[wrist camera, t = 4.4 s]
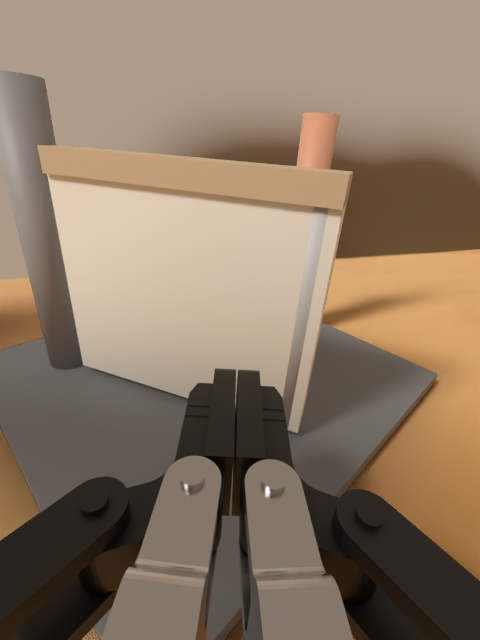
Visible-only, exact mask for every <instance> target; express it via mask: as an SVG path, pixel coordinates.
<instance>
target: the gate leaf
mask: <svg viewBox="0 0 480 640" xmlns="http://www.w3.org/2000/svg"><path fill="white" fill-rule="evenodd" d="M37 147H38V152H39V157H40V162H41V167H42V173H46V174H47V176H48V181H49V187H50V192H51V197H52V202H53V208H54V213H55V218H56V224H57V229H58V234H59V240H60V245H61V250H62V256H63V261H64V266H65V272H66V277H67V282H68V288H69V293H70V298H71V303H72V309H73V314H74V319H75V325H76V330H77V335H78V341H79V346H80V351H81V357H82V362H83V365H85V366H88V367H91V368H94V369H97V370H100V371H104V372H107V373H110V374H113V375H116V376H119V377H122V378H126V379H129V380H132V381H135V382H138V383H141V384H144V385H148V386H151V387H154V388H157V389H160V390H163V391H166V392H170V393H173V394H176V395H179V396H182V397H185V398H188V397H189V393H190V392H191V390H192V389H193V388H194V387H195V386H196V385H197V383H213V379H214V371H215V368H219V369H236V390H237V375H238V369H239V370H258V371H259V372H260V384H261V386H272V387H275V388H276V389H277V391H278V392H279V393H280V395H281V396H282V398H283V404H284V412H285V417H286V424H287V430H289V431H292V432H295V433H298V430H299V426H300V423H301V419H302V416H303V411H304V406H305V402H306V397H307V392H308V387H309V382H310V377H311V373H312V368H313V363H314V358H315V353H316V348H317V343H318V339H319V334H320V329H321V324H322V319H323V314H324V310H325V305H326V300H327V295H328V290H329V285H330V280H331V276H332V271H333V266H334V261H335V256H336V251H337V246H338V242H339V237H340V232H341V227H342V222H343V217H344V212H345V208H346V204H347V199H348V195H349V190H350V185H351V180H352V175H353V172H350V171H339V170H328V169H317V168H306V167H295V166H284V165H273V164H263V163H251V162H241V161H230V160H218V159H207V158H197V157H186V156H175V155H164V154H153V153H142V152H131V151H119V150H109V149H98V148H87V147H75V146H52V145H37ZM235 404H236V393H235Z"/></svg>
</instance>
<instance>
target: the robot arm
mask: <svg viewBox="0 0 480 640" xmlns="http://www.w3.org/2000/svg"><path fill="white" fill-rule="evenodd" d="M235 393H236V404H235ZM232 471H233V489H232V516H239V541H238V557H239V574H240V591H241V609H242V626H243V640H353V637H352V634H353V636H354V637H355V638H356V639H357V640H480V581H479V580H478V579H477V578H475V577H474V576H473V575H472V574H471V573H470V572H468V571H467V570H466V569H465V568H464V567H463V566H461V565H460V564H459V563H458V562H457V561H455V560H454V559H453V558H452V557H451V556H450V555H448V554H447V553H446V552H445V551H444V550H443V549H441V548H440V547H439V546H438V545H437V544H436V543H434V542H433V541H432V540H431V539H430V538H428V537H427V536H426V535H425V534H424V533H423V532H421V531H420V530H419V529H418V528H417V527H416V526H414V525H413V524H412V523H411V522H410V521H408V520H407V519H406V518H405V517H404V516H403V515H401V514H400V513H399V512H398V511H397V510H396V509H394V508H393V507H392V506H391V505H390V504H388V503H387V502H386V501H385V500H384V499H382V498H381V497H379V496H378V495H376V494H374V493H372V492H369V491H366V490H360V489H355V490H350V491H347V492H345V493H344V494H343V495H342V496H341V497H340V498H338V497H336V496H333V495H330V494H327V493H324V492H322V491H319V490H317V489H315V488H313V487H311V486H309V485H308V484H307V483H305V482H304V481H303V480H302V479H301V478H300V476H299V475H298V474H297V472H296V470H295V468H294V466H293V462H292V456H291V449H290V443H289V436H288V430H287V424H286V417H285V412H284V404H283V398H282V396H281V395H280V393H279V392H278V391H277V389H276V388H275V387H272V386H261V384H260V372H259V371H258V370H239V369H238V375H237V390H236V369H219V368H215V371H214V379H213V383H197V385H196V386H195V387H194V388H193V389H192V390H191V392H190V393H189V397H188V402H187V407H186V411H185V417H184V420H183V425H182V430H181V434H180V439H179V443H178V448H177V453H176V457H175V460H174V462H173V464H172V465H171V466H170V467H169V468H168V470H167V471H166V473H164V474H163V475H162V476H160V477H159V478H157V479H155V480H153V481H151V482H148V483H144V484H140V485H136V486H132V487H129V488H126V487H125V485H124V484H123V483H122V482H121V481H120V480H118V479H116V478H113V477H106V476H104V477H96V478H93V479H90V480H87V481H85V482H83V483H82V484H80V485H79V486H77V487H76V488H74V489H73V490H72V491H70V492H69V493H67V494H66V495H64V496H63V497H62V498H60V499H59V500H57V501H56V502H55V503H53V504H52V505H50V506H49V507H48V508H46V509H45V510H43V511H42V512H40V513H39V514H38V515H36V516H35V517H33V518H32V519H31V520H29V521H28V522H26V523H25V524H23V525H22V526H21V527H19V528H18V529H16V530H15V531H14V532H12V533H11V534H9V535H8V536H7V537H5V538H4V539H2V540H1V541H0V640H81V639H82V638H83V637H84V636H85V635H86V634H87V633H88V632H89V631H90V630H91V629H92V628H93V627H94V626H95V625H96V624H97V623H98V621H99V620H100V619H101V618H102V617H103V616H104V615H105V614H106V613H107V612H108V611H109V610H110V609H111V608H112V609H111V612H110V615H109V617H108V620H107V623H106V626H105V629H104V632H103V635H102V638H101V640H206V634H207V626H208V619H209V611H210V604H211V596H212V589H213V581H214V574H215V566H216V559H217V551H218V545H219V543H220V539H221V530H222V516H229V512H230V499H231V485H232Z"/></svg>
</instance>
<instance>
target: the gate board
mask: <svg viewBox="0 0 480 640" xmlns="http://www.w3.org/2000/svg"><path fill="white" fill-rule="evenodd" d="M338 121H339V115H337V114H330V113H304V115H303V122H302V130H301V137H300V145H299V152H298V160H297V167H306V168H317V169H328V170H330V166H331V161H332V155H333V149H334V144H335V138H336V132H337V126H338ZM37 145H52V146H56V144H55V138H54V131H53V125H52V120H51V114H50V108H49V102H48V97H47V90H46V84H45V79H43V78H41V77H37V76H33V75H28V74H23V73H16V72H10V71H1V70H0V160H1V164H2V168H3V172H4V176H5V180H6V184H7V188H8V193H9V197H10V200H11V205H12V209H13V213H14V217H15V221H16V225H17V229H18V234H19V237H20V242H21V246H22V250H23V254H24V258H25V262H26V266H27V270H28V275H29V279H30V283H31V287H32V291H33V295H34V299H35V303H36V307H37V311H38V316H39V320H40V324H41V328H42V332H43V336H44V337H43V338H40V339H36V340H33V341H30V342H26V343H23V344H19V345H16V346H13V347H9V348H6V349H2V350H0V426H1V428H2V430H3V432H4V435H5V437H6V439H7V441H8V443H9V445H10V448H11V450H12V452H13V454H14V456H15V458H16V460H17V463H18V465H19V467H20V469H21V471H22V473H23V476H24V478H25V480H26V482H27V484H28V486H29V488H30V491H31V493H32V495H33V497H34V499H35V501H36V503H37V506H38V508H39V510H40V512H42V511H43V510H45V509H46V508H48V507H49V506H50V505H52V504H53V503H55V502H56V501H57V500H59V499H60V498H62V497H63V496H64V495H66V494H67V493H69V492H70V491H72V490H73V489H74V488H76V487H77V486H79V485H80V484H82V483H83V482H85V481H87V480H90V479H93V478H96V477H104V476H106V477H113V478H116V479H118V480H120V481H121V482H122V483H123V484H124V485H125V487H126V488H129V487H132V486H136V485H140V484H144V483H148V482H151V481H153V480H155V479H157V478H159V477H160V476H162V475H163V474H164V473H166V471H167V470H168V468H169V467H170V466H171V465H172V464H173V462H174V460H175V457H176V453H177V448H178V443H179V439H180V434H181V430H182V425H183V420H184V417H185V411H186V407H187V402H188V398H185V397H182V396H179V395H176V394H173V393H170V392H166V391H163V390H160V389H157V388H154V387H151V386H148V385H144V384H141V383H138V382H135V381H132V380H129V379H126V378H122V377H119V376H116V375H113V374H110V373H107V372H104V371H100V370H97V369H94V368H91V367H88V366H85V365H83V362H82V357H81V351H80V346H79V341H78V335H77V330H76V325H75V319H74V314H73V309H72V303H71V298H70V293H69V288H68V282H67V277H66V272H65V266H64V261H63V256H62V250H61V245H60V240H59V234H58V229H57V224H56V218H55V213H54V208H53V202H52V197H51V192H50V187H49V181H48V176H47V174H46V173H42V167H41V162H40V157H39V152H38V147H37ZM436 376H437V374H436V373H434V372H432V371H430V370H427V369H425V368H423V367H421V366H418V365H416V364H414V363H412V362H409V361H407V360H405V359H403V358H400V357H398V356H396V355H394V354H391V353H389V352H387V351H385V350H382V349H380V348H378V347H376V346H374V345H371V344H369V343H367V342H365V341H362V340H360V339H358V338H356V337H353V336H351V335H349V334H347V333H344V332H342V331H340V330H338V329H335V328H333V327H331V326H329V325H326V324H324V323H322V324H321V329H320V334H319V339H318V343H317V348H316V353H315V358H314V363H313V368H312V373H311V377H310V382H309V387H308V392H307V397H306V402H305V406H304V411H303V416H302V419H301V423H300V426H299V430H298V433H295V432H292V431H289V430H288V436H289V443H290V449H291V456H292V462H293V466H294V468H295V470H296V472H297V474H298V475H299V476H300V478H301V479H302V480H303V481H304V482H305V483H307V484H308V485H309V486H311V487H313V488H315V489H317V490H319V491H322V492H324V493H327V494H330V495H333V496H336V497H338V498H340V497H341V496H342V495H343V494H344V493H345V491H346V490H347V489H348V488H349V487H350V485H351V484H352V483H353V482H354V480H355V479H356V478H357V477H358V476H359V474H360V473H361V472H362V471H363V469H364V468H365V467H366V466H367V465H368V463H369V462H370V461H371V460H372V459H373V457H374V456H375V455H376V454H377V452H378V451H379V450H380V449H381V448H382V446H383V445H384V444H385V443H386V441H387V440H388V439H389V438H390V437H391V435H392V434H393V433H394V432H395V430H396V429H397V428H398V427H399V426H400V424H401V423H402V422H403V421H404V419H405V418H406V417H407V416H408V415H409V413H410V412H411V411H412V410H413V408H414V407H415V406H416V405H417V404H418V402H419V401H420V400H421V399H422V397H423V396H424V395H425V394H426V393H427V391H428V390H429V389H430V388H431V386H432V385H433V383H434V381H435V379H436ZM232 489H233V471H232V485H231V499H230V512H229V516H222V530H221V539H220V543H219V545H218V551H217V559H216V566H215V574H214V581H213V589H212V596H211V604H210V611H209V619H208V626H207V634H206V640H224V639H225V638H226V637H227V636H228V634H229V633H230V632H231V631H232V629H233V628H234V627H235V626H236V625H237V623H238V622H239V621H240V620H241V618H242V609H241V591H240V574H239V557H238V541H239V516H232ZM111 609H112V608H111ZM111 609H110V610H109V611H108V612H107V613H106V614H105V615H104V616H103V617H102V618H101V619H100V620H99V621H98V623H97V624H96V625H95V626H94V628H95V630H96V633H97V635H98V637H99V639H100V640H101V638H102V635H103V632H104V629H105V626H106V623H107V620H108V617H109V615H110V612H111Z"/></svg>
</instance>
